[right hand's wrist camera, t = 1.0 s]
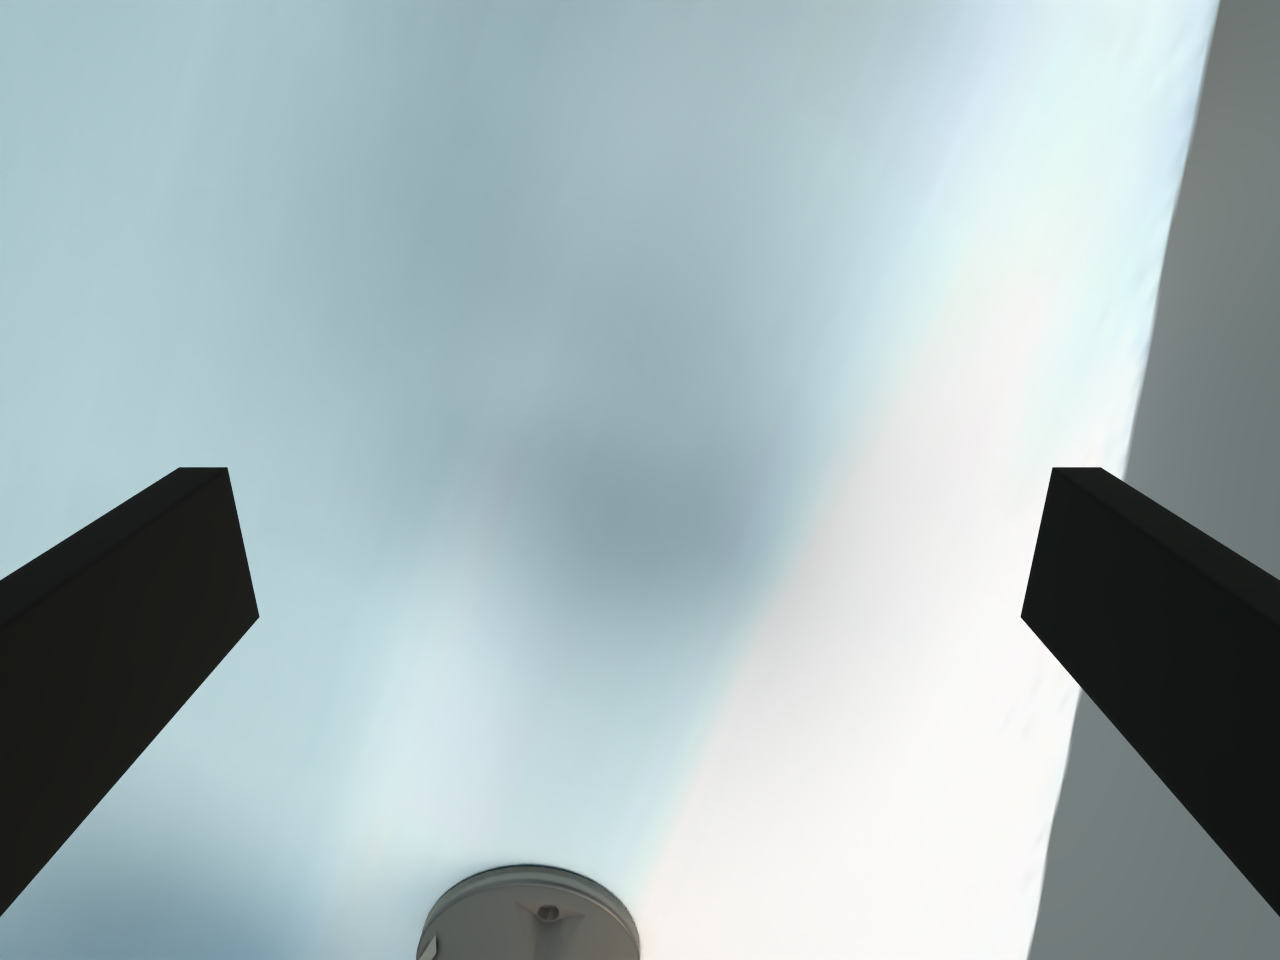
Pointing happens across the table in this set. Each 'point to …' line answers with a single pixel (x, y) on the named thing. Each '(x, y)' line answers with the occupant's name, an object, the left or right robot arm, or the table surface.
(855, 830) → the table surface
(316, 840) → the table surface
